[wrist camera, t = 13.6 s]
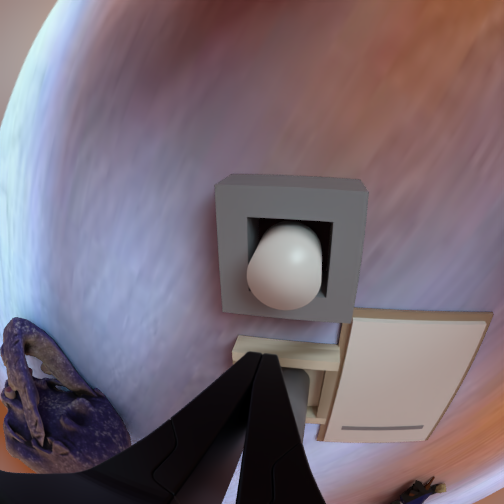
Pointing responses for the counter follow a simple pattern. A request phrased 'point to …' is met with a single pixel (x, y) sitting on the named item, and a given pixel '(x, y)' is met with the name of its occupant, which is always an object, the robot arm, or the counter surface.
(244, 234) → the button housing
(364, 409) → the white flat rectangular panel
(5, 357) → the decorative skull
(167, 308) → the counter surface
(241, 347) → the holder tray
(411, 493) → the toy
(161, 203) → the counter surface
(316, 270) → the button
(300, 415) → the marker
